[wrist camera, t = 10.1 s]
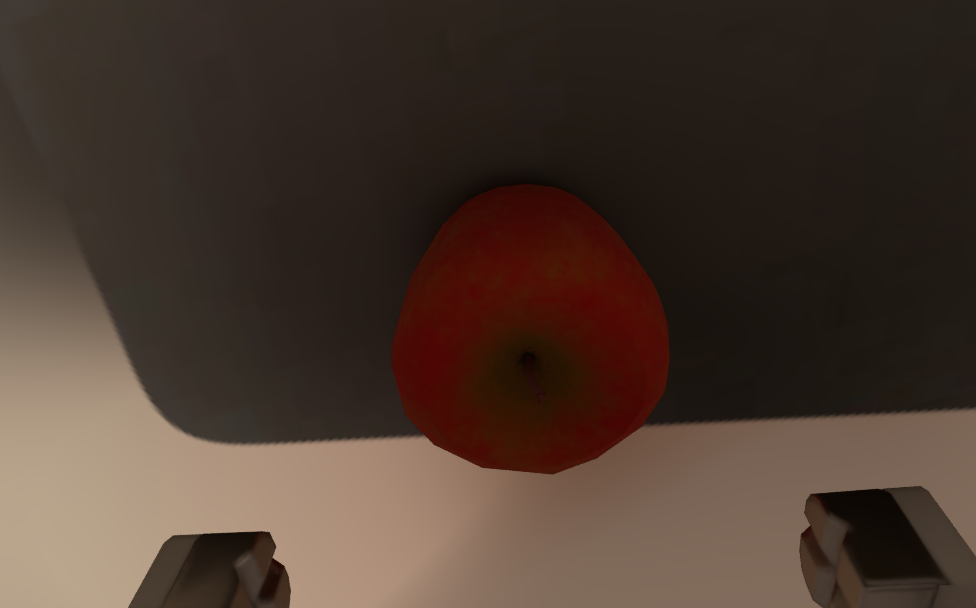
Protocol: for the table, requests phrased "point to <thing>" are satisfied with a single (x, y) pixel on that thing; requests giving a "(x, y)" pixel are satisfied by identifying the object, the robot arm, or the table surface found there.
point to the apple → (529, 334)
